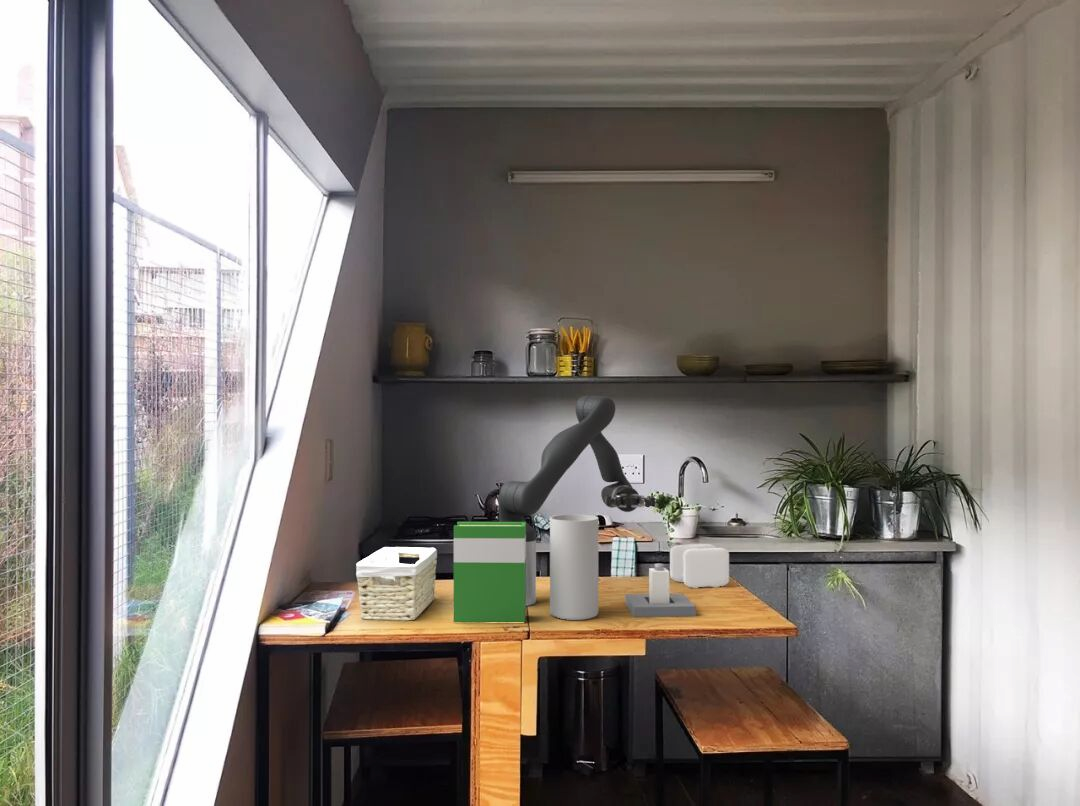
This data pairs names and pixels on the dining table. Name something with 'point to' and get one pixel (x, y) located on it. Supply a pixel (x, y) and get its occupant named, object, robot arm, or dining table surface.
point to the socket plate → (659, 606)
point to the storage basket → (396, 583)
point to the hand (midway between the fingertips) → (633, 503)
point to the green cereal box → (490, 572)
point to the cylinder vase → (574, 566)
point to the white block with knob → (658, 584)
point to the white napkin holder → (699, 565)
